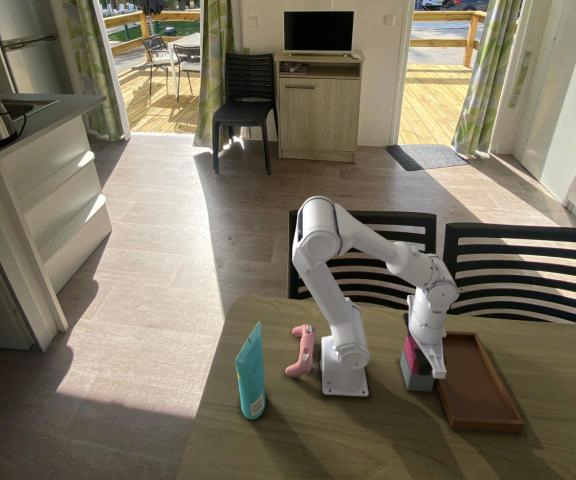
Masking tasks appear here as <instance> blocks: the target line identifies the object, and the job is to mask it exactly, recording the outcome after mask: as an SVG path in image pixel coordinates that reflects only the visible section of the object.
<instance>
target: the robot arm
mask: <svg viewBox="0 0 576 480" xmlns="http://www.w3.org/2000/svg"><path fill="white" fill-rule="evenodd" d="M352 248H354V249H356V250H358V251H360V252H362V253H363V254H364V253H365V254H367V255H369V256H371V257H373V258H375V259H378V260H380V261H382V262H384V263H385V265H386V268H387V270H388V272H389V273H391V274H393V275H395V276H396V277H398V278H400V279H402V280H404V281H405V282H406V283H409V284H410V285H412V286H414V287H416V289H415V294H408V295H407V298H406V303H407V306H408V312H405V313H403V314H402V317H403V321H404V324H405V327H406V331H407V335H412V337H413V338H414V340H415V341H416V343H417V344H418V346H419V347H420V349H417V348H414V352H415V355H416V358H417V369H418V373H419V375H426V376H429V374H430V373H431V372H432V374H433V377H434V378H439V379H445V376H446V372H447V371H446V368H445V365H446V358H445V356H444V353H443V346H442V337H446V331H447V330H446V329H445V327H444V325H445V320H446V317H447V312H448V311H450V306H451V305H452V304H454V302H456V301H457V300H458V298H459V296H460V293H459V292H458V286H457V284H456V282H455V280H454V278H453V277H452V274H451V273H450V271H449V269H448V267H447V266H446V264H445V262H444V261H443V259H442V258H441V257H440V256H439V255H438V254H436V253H424V252H421V251H419V249H418V247H416V246H415V245H413V244H411V246H410V245H408V244H407V243H404V242H403V241H395V242H393V243H392V242H391V241H389V240H388V239H387V238H385V237H384V236H382V235H380V234H379V233H377V232H375V231H374V230H373V229H372V228H370V227H368V226H366V225H365V224H363V223H362V222H361V221H359V220H358V219H356V218H355V217H354V216H352V214H351V213H350V212H348V211H347V210H346V209H345V208H344V206H342V205H340V204H339V203H336V202H334V203H333V202H332V200H331V199H329V198H328V197H326V196H323V195H314V196H311V197H308V198H307V199H306V200H305V201H304V202H303V204H302V205H301V207H300V208H299V210H298V212H297V218H296V226H295V232H294V237H293V242H292V254H291V255H292V258H291V261H292V264H293V267H294V268H295V270H296V271H297V273H298V274H299V276H300V278H301V280H302V281H303V283H304V285H305V286H306V288H307V289H308V291H309V293H310V295H311V296H312V298H313V299H314V301H315V303H316V305H317V306H318V308H319V309H320V311H321V313H322V315H323V316H324V318H325V319H326V321H327V323H328V324H329V328H330V331H331V335H328V336H322V337H321V346H320V360H319V369H320V370H319V371H320V372H321V386H322V393H323V395H327V396H345V397H368V396H369V390H368V383H367V377H366V371H365V368H366V366H368V364H369V363H370V361H371V353H370V351H369V348H368V342H367V337H366V332H365V327H364V323H363V322H364V321H363V314H362V309H361V308H360V307H359V305H357V304H356V303H353V301H352V300H351V298H350V297H348V296H347V297H345V295H344V293H343V292H342V290H341V288H340V287H339V284H338V283H337V281H336V279H335V277H334V276H333V273H332V272H331V270H330V268H329V267H328V265H327V263H326V262H328V261H330V260H331V259H332V258H334V256H336V255H337V257H342V256H344V255H345V254H346V253H347V252H348V251H350V249H352Z"/></svg>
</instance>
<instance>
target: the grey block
mask: <svg viewBox="0 0 576 480" xmlns="http://www.w3.org/2000/svg"><path fill="white" fill-rule="evenodd" d="M404 348H405V347H403V348H402V351H401V355H400V361H399V364H400V368H401V372H402V375H403V378H404V383H405V386H406V389H407V391H413V392H414V391H415V392H432V391H433V386H434V383H435V381H434V379H435V378H434V377H433V374H429V376H426V375H419V374H416V373H411V370H410V367H409V363H408V360H407V357H406V353H405V350H404Z"/></svg>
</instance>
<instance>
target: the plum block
mask: <svg viewBox="0 0 576 480" xmlns="http://www.w3.org/2000/svg"><path fill="white" fill-rule="evenodd" d="M403 348H404V350H405V353H406V357H407V360H408V363H409V367H410V370H411V373H416V374H419V373H418V369H417V358H416V355H415V352H414V348H417V349H420V347H419V346H418V344H417V343H416V341H415V340H414V338H413V337H412V335H408V334H406V337H405V342H404V347H403ZM430 374H432V372H431V373H430Z"/></svg>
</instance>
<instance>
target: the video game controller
mask: <svg viewBox="0 0 576 480" xmlns="http://www.w3.org/2000/svg"><path fill="white" fill-rule="evenodd" d="M316 332H317V329H316V327H315V326H314V325H312V324H308V323H306V324H302V325H299V326H295V327H294V328H293V329H292V331H291V333H292V335H293V336H295V337H296V338H300V343H299V349H300V351H299V356H298V360H297V362H295V363H294V364H291V365H289V366H287V367H286V368H285V370H284V372H285V375H286V376H287V377H290V378H298V377H301V376H304V375H308V374H309V372H310V371H311V370H312V369H313V366H314V365H313V364H314V362H313V353H314V346H315V338H316V337H315V336H316Z"/></svg>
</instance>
